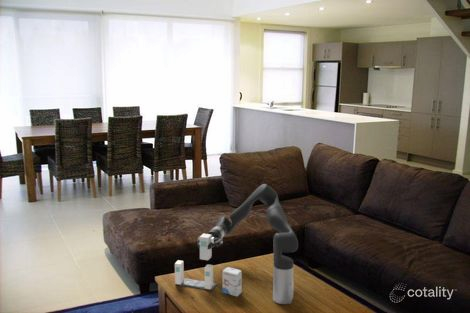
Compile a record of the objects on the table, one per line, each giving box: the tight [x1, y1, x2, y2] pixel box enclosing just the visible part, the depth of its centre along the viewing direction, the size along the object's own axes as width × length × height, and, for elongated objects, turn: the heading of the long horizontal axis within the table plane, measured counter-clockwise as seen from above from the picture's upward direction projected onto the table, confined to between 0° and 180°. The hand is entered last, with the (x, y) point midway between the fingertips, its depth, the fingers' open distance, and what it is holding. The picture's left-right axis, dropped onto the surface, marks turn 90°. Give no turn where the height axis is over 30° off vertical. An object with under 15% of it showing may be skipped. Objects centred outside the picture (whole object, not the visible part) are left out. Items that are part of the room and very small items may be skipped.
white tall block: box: [199, 232, 213, 261], centre depth 221 cm, size 4×5×12 cm
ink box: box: [221, 266, 243, 297], centre depth 212 cm, size 9×5×12 cm, turn 62°
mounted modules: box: [174, 259, 214, 290], centre depth 217 cm, size 19×4×11 cm, turn 73°
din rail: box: [174, 277, 217, 291], centre depth 220 cm, size 20×6×1 cm, turn 73°
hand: (203, 246), depth 218 cm, fingers closed on white tall block, 4 cm apart
